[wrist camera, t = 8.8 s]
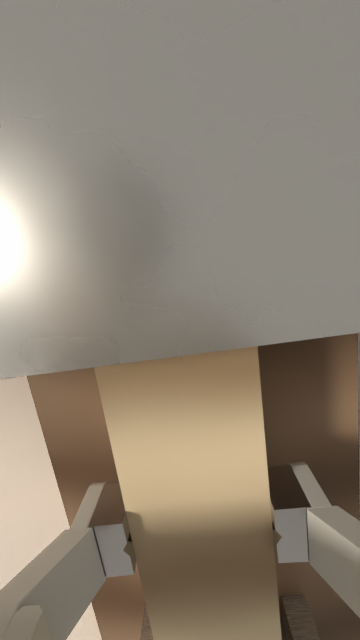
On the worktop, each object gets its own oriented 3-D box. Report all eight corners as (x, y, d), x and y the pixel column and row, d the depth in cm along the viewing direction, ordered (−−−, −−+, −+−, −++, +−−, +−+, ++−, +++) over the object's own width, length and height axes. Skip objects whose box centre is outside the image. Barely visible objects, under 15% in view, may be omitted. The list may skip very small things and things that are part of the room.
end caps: (38, 151, 8) (-177, -8, 3) (271, 107, 8) (406, -144, 3) (163, 688, 13) (149, 934, 8) (310, 680, 13) (384, 935, 8)
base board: (-11, 174, 9) (-35, 163, 8) (336, 111, 9) (355, 92, 8) (123, 668, 15) (118, 697, 14) (349, 655, 14) (361, 685, 13)
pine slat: (103, 230, 9) (60, 214, 6) (225, 211, 9) (244, 185, 6) (184, 660, 13) (183, 777, 10) (268, 655, 13) (293, 775, 10)
